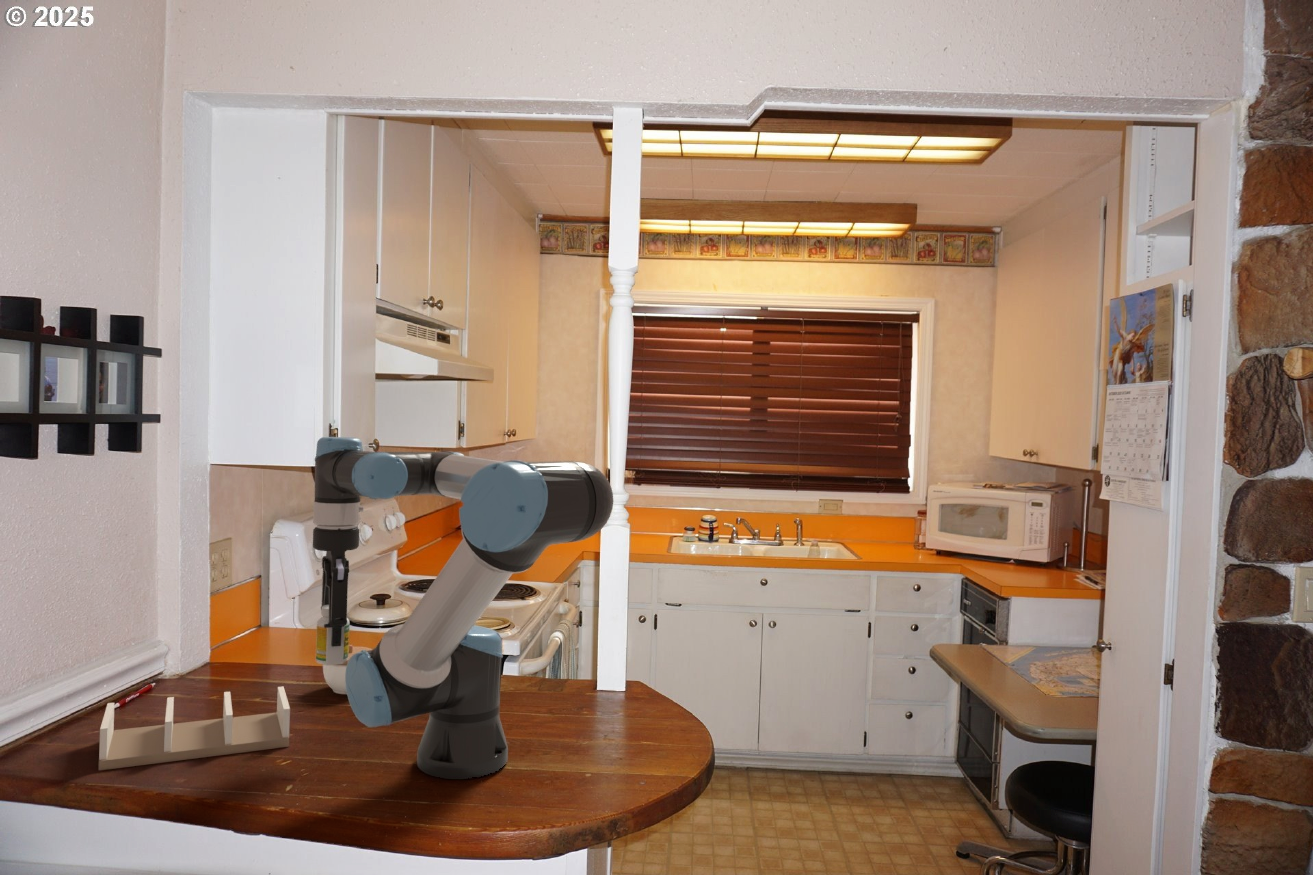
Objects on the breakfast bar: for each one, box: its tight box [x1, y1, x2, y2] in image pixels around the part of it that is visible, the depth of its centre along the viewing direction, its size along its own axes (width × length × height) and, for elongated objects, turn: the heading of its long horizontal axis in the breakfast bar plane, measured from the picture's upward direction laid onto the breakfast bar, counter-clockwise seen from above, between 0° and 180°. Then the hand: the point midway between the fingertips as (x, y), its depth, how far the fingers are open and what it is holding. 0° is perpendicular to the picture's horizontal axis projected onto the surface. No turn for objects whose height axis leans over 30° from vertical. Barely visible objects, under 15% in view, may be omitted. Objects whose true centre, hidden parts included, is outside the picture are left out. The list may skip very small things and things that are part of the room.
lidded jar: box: [322, 644, 373, 695], centre depth 182 cm, size 11×11×9 cm
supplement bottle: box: [315, 605, 351, 666], centre depth 150 cm, size 5×5×10 cm
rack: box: [98, 686, 291, 771], centre depth 150 cm, size 14×28×6 cm, turn 118°
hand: (332, 659), depth 150 cm, fingers closed on supplement bottle, 5 cm apart
